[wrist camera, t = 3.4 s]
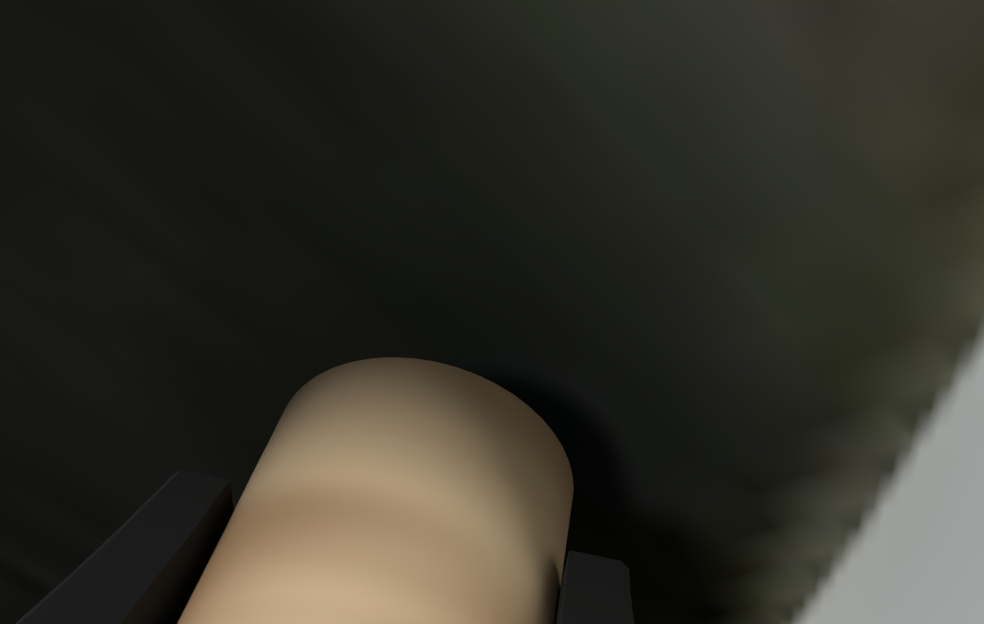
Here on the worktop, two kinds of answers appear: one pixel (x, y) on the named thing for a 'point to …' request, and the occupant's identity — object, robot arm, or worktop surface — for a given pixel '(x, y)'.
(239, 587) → the beech cylinder
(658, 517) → the worktop surface
